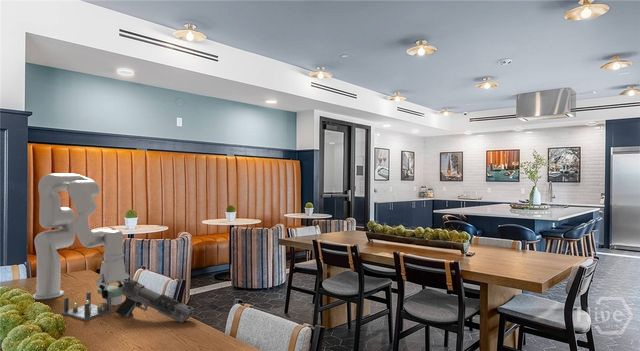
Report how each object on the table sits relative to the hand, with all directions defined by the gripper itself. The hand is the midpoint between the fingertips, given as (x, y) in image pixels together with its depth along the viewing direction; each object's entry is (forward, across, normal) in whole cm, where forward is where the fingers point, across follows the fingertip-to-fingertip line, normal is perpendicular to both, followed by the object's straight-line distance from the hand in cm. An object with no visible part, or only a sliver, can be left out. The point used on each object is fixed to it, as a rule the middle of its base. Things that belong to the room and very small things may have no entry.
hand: (112, 295), depth 182 cm
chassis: (+3, +14, +3) cm, 14 cm away
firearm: (+4, +4, +33) cm, 34 cm away
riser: (+3, 0, 0) cm, 3 cm away
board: (-1, 0, 0) cm, 1 cm away
